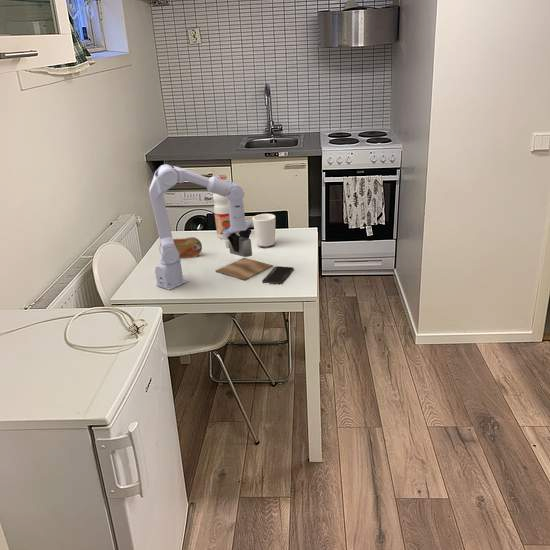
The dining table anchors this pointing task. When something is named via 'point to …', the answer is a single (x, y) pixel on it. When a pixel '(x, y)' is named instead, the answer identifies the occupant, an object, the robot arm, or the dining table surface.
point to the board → (244, 268)
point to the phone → (278, 275)
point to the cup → (264, 229)
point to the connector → (241, 247)
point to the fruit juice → (221, 213)
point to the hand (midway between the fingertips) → (240, 249)
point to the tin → (188, 247)
